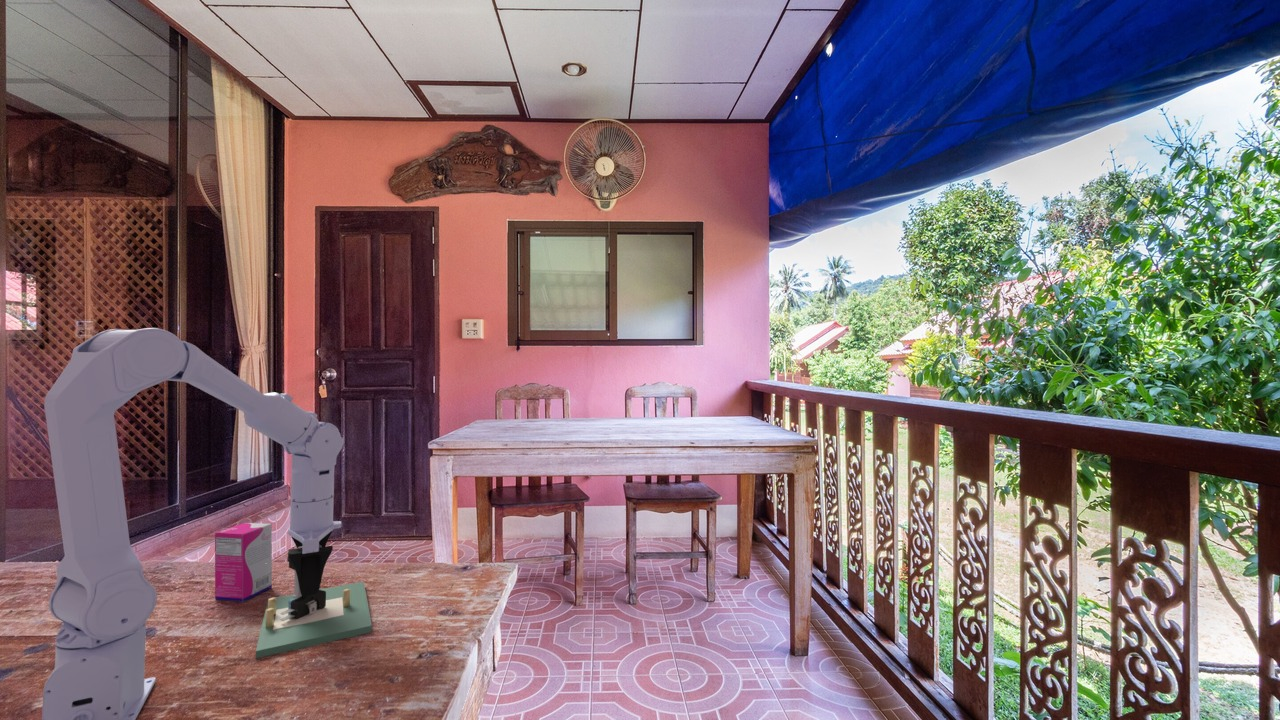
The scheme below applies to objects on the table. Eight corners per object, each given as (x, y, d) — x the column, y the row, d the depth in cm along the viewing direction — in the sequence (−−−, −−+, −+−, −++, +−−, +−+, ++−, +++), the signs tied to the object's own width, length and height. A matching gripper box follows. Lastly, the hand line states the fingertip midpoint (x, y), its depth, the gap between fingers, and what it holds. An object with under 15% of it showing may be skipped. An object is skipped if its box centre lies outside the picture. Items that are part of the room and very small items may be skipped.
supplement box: (243, 585, 93) (245, 521, 93) (272, 588, 92) (274, 523, 92) (212, 599, 87) (214, 531, 87) (242, 602, 86) (244, 533, 86)
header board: (371, 632, 77) (372, 608, 77) (255, 658, 70) (256, 632, 70) (363, 587, 93) (364, 567, 93) (268, 604, 85) (268, 583, 85)
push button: (293, 627, 76) (295, 559, 76) (268, 620, 78) (270, 554, 78) (334, 607, 82) (335, 545, 83) (310, 602, 84) (311, 540, 84)
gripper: (343, 505, 77) (341, 597, 77) (340, 485, 89) (338, 564, 89) (286, 512, 73) (283, 608, 73) (291, 490, 86) (289, 572, 85)
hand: (310, 584), depth 81 cm, fingers open, 7 cm apart
